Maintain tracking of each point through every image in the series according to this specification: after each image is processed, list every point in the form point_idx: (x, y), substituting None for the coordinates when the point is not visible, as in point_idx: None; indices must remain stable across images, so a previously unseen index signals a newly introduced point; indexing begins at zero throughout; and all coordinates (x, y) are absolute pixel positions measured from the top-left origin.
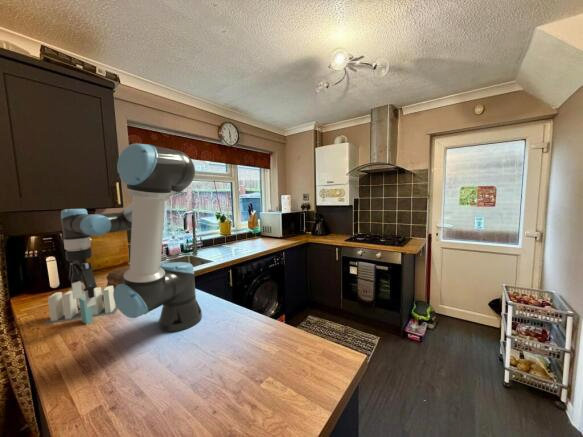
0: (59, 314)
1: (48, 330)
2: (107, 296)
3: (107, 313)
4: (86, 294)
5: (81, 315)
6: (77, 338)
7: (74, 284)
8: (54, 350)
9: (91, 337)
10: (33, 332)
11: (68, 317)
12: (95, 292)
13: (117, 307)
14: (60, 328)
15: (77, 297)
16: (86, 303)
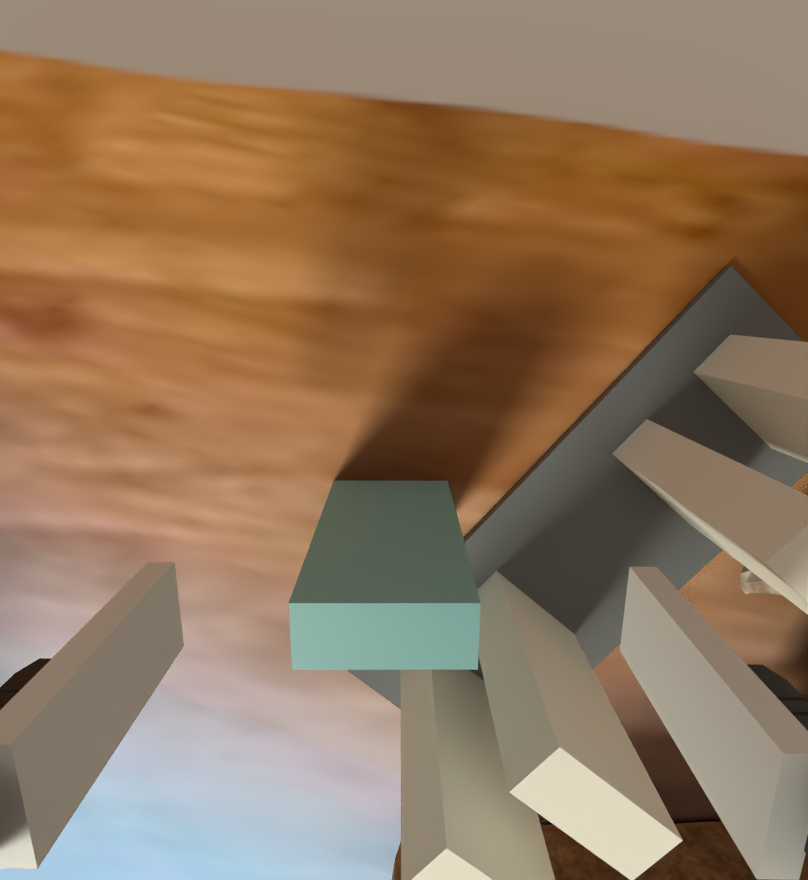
0: (746, 407)
1: (548, 272)
2: (412, 791)
3: None
4: (31, 686)
5: (445, 504)
6: (133, 360)
7: (756, 759)
8: (64, 195)
9: (51, 425)
10: (639, 183)
11: (631, 442)
12: (507, 778)
13: None
14: (487, 342)
15: (630, 607)
16: (135, 586)
